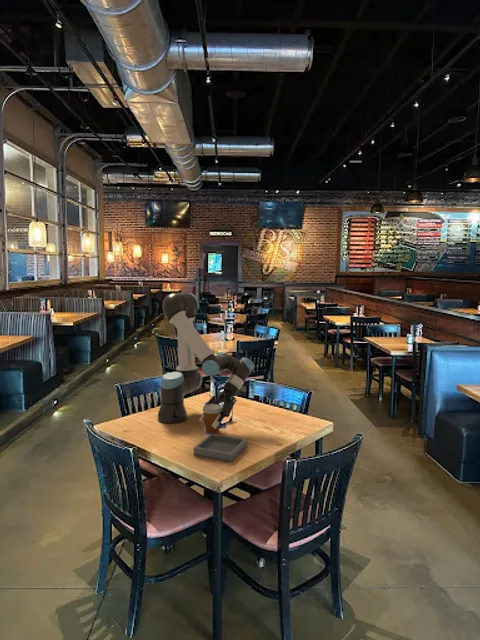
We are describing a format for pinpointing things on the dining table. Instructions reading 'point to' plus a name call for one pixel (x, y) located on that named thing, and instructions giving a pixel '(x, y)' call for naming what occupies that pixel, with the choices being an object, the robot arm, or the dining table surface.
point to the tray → (220, 447)
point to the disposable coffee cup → (211, 416)
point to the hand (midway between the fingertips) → (207, 424)
